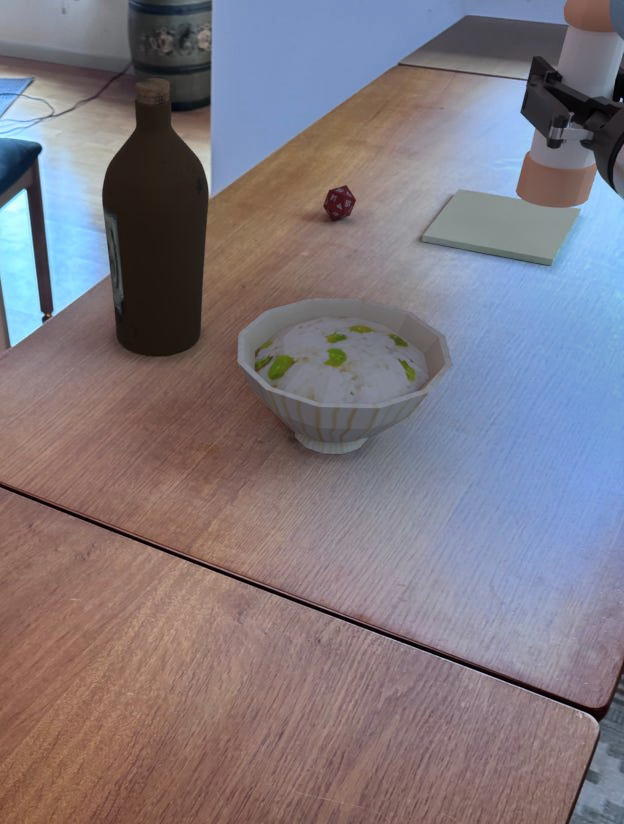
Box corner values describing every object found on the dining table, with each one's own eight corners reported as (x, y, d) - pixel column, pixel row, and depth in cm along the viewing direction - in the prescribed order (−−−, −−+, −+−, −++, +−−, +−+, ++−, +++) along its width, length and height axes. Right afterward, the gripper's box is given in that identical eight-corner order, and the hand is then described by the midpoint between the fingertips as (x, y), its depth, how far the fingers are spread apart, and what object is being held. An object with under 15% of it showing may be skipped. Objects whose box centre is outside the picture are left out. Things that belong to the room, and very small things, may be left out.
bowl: (189, 429, 89) (190, 335, 82) (324, 358, 97) (335, 266, 90) (339, 524, 79) (354, 426, 71) (475, 435, 87) (502, 339, 79)
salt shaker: (506, 199, 94) (561, -24, 80) (528, 175, 98) (584, -42, 84) (577, 213, 92) (648, -16, 78) (597, 188, 96) (667, -34, 82)
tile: (579, 215, 119) (581, 208, 118) (551, 265, 109) (553, 259, 109) (457, 194, 124) (459, 188, 124) (421, 241, 115) (422, 235, 114)
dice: (315, 219, 120) (318, 188, 117) (337, 209, 122) (341, 178, 119) (337, 228, 118) (341, 196, 115) (359, 217, 120) (364, 186, 117)
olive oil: (203, 310, 105) (207, 62, 86) (208, 358, 98) (213, 100, 79) (112, 313, 105) (96, 67, 87) (110, 361, 98) (92, 104, 79)
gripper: (533, 207, 78) (463, 115, 94) (749, 197, 78) (642, 106, 94) (559, 112, 73) (480, 30, 89) (791, 101, 73) (671, 21, 88)
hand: (564, 70), depth 91 cm, fingers closed on salt shaker, 5 cm apart
